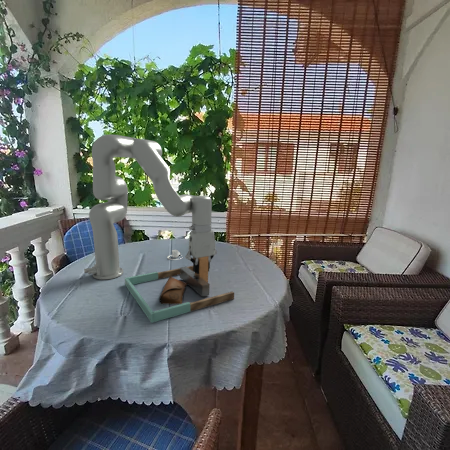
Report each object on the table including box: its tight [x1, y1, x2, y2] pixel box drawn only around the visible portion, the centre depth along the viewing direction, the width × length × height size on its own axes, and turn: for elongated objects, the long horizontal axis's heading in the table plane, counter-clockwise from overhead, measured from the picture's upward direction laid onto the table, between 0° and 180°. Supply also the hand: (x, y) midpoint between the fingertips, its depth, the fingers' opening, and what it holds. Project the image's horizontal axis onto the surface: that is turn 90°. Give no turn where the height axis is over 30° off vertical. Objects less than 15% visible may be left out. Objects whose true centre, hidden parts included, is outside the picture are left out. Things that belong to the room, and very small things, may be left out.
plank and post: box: [179, 256, 211, 297], centre depth 115 cm, size 7×20×14 cm, turn 33°
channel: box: [157, 265, 235, 312], centre depth 115 cm, size 18×32×2 cm, turn 33°
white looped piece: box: [166, 249, 184, 261], centre depth 150 cm, size 9×8×4 cm
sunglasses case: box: [158, 276, 188, 305], centre depth 110 cm, size 18×7×7 cm
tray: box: [124, 271, 191, 324], centre depth 106 cm, size 14×32×3 cm, turn 33°
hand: (201, 271), depth 116 cm, fingers closed on plank and post, 4 cm apart
